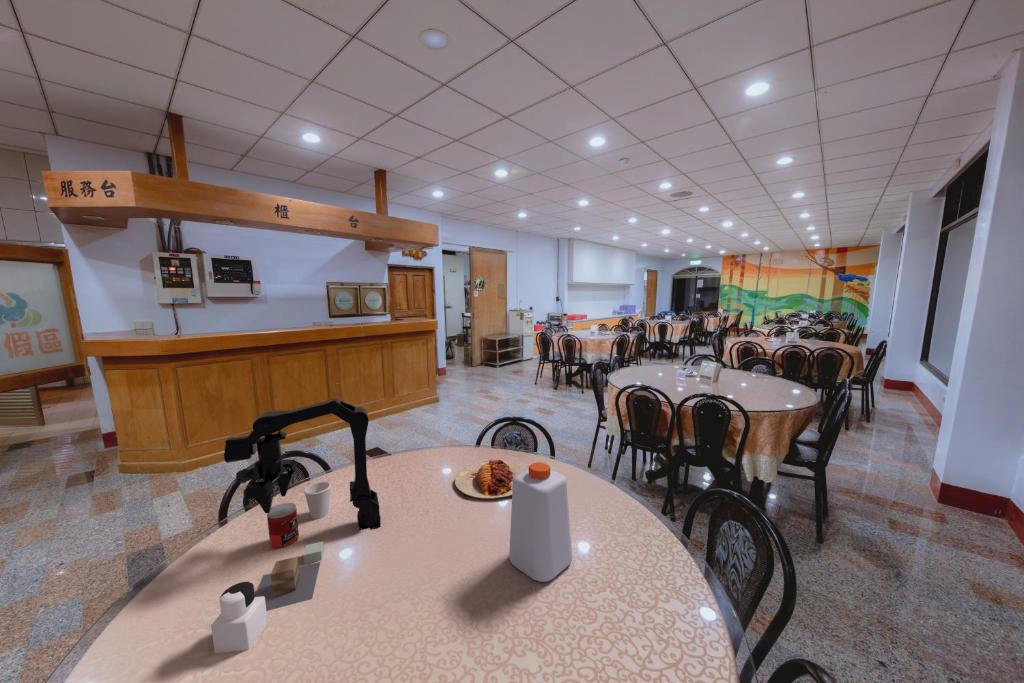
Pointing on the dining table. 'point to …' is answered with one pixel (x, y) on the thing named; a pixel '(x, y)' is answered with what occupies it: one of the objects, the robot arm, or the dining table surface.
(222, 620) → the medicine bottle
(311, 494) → the dixie cup
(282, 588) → the tower base
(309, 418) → the robot arm
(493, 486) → the plate of pasta
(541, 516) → the plastic bottle
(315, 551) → the sage block
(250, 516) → the dining table surface
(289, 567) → the tower top
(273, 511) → the canned food
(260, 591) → the plate
